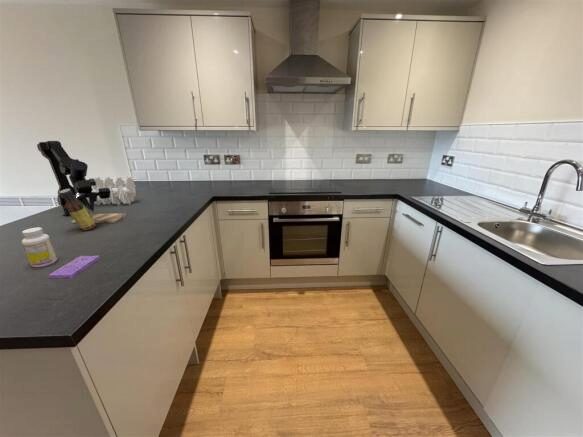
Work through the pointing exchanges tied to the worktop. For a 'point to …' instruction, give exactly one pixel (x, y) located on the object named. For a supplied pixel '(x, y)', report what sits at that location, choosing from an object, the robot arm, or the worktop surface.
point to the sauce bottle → (78, 210)
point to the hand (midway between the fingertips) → (92, 210)
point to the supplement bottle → (38, 247)
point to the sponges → (74, 267)
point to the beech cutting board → (105, 217)
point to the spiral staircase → (115, 190)
